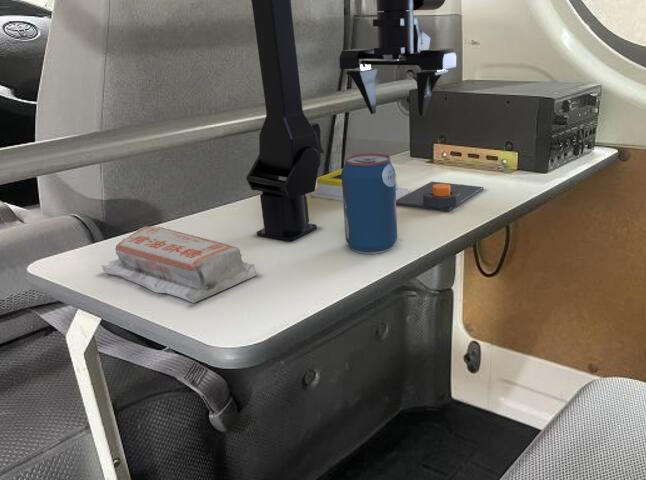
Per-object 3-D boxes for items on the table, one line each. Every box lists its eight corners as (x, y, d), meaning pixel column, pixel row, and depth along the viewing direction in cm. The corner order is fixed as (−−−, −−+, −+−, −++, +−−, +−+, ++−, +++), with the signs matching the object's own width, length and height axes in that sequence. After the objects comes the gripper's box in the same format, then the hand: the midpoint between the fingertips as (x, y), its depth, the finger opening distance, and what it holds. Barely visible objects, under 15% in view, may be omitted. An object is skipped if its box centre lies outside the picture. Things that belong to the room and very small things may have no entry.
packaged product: (254, 239, 75) (186, 266, 68) (259, 276, 77) (193, 307, 70) (161, 216, 85) (93, 238, 77) (168, 250, 87) (102, 274, 79)
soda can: (408, 245, 85) (406, 156, 80) (370, 260, 80) (365, 166, 75) (373, 234, 89) (369, 149, 84) (335, 247, 85) (329, 159, 80)
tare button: (445, 198, 98) (445, 188, 97) (429, 196, 99) (429, 187, 99) (453, 194, 100) (453, 184, 99) (437, 192, 101) (437, 182, 101)
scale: (450, 213, 97) (450, 199, 96) (391, 205, 102) (391, 192, 101) (485, 190, 108) (485, 177, 107) (431, 184, 113) (431, 172, 112)
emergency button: (338, 159, 114) (409, 167, 107) (340, 183, 116) (410, 192, 109) (306, 170, 107) (379, 180, 100) (308, 195, 109) (381, 206, 102)
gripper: (470, 8, 100) (468, 110, 106) (369, 12, 108) (373, 106, 115) (441, 9, 91) (440, 120, 97) (334, 13, 99) (339, 115, 106)
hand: (397, 114), depth 104 cm, fingers open, 9 cm apart
